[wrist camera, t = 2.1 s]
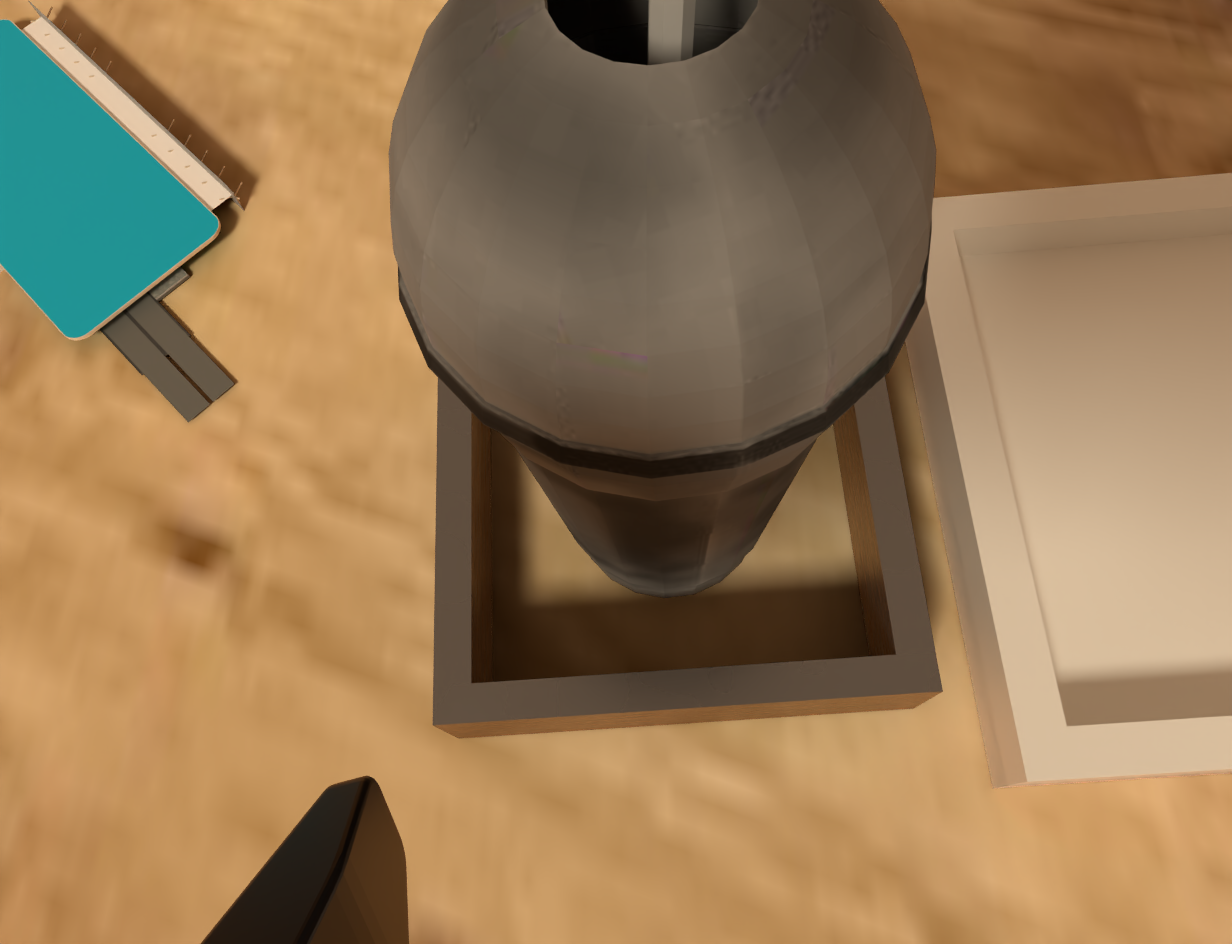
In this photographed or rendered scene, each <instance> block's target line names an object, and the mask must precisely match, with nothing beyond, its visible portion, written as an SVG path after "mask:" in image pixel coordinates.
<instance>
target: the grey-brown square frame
mask: <svg viewBox="0 0 1232 944" xmlns="http://www.w3.org/2000/svg"><path fill="white" fill-rule="evenodd" d="M833 426H834V433H835V439H836V445H837V452H838V458H839V464H840V471H841V477H842V483H843V490H844V496H845V502H846V509H847V515H848V522H849V528H850V534H851V541H852V547H853V553H854V560H855V566H856V572H857V579H858V585H859V591H860V598H861V604H862V611H863V617H864V623H865V630H866V636H867V642H868V649H869V655H870V656H868V657H853V658H839V659H824V660H809V661H795V662H780V663H765V664H750V665H736V666H721V667H706V668H692V669H677V670H662V671H647V672H633V673H618V674H603V675H589V676H574V677H559V678H544V679H530V680H515V681H500V682H493V639H492V519H491V428H490V427H488V426H486V425H484V424H483V423H482V422H481V421H480V420H479V419H478V418H477V417H476V416H475V415H474V414H473V413H472V412H471V411H470V410H469V409H468V408H467V407H466V406H465V405H464V404H463V403H462V402H461V401H460V400H459V398H458V397H457V396H456V395H455V394H454V393H453V392H452V391H451V390H450V389H449V388H448V387H447V386H446V385H445V384H444V383H443V382H442V381H441V380H440V379H439V378H438V411H437V478H436V545H435V611H434V678H433V726H435V727H437V728H439V729H441V730H443V731H445V732H447V733H449V734H451V735H453V736H455V737H457V738H472V737H487V736H502V735H517V734H533V733H548V732H563V731H578V730H593V729H608V728H624V727H639V726H654V725H669V724H684V723H699V722H714V721H730V720H745V719H760V718H775V717H790V716H805V715H821V714H836V713H851V712H866V711H881V710H896V709H911V708H915V707H917V706H919V705H920V704H922V703H924V702H925V701H927V700H929V699H931V698H932V697H934V696H936V695H937V694H939V693H941V692H943V691H942V685H941V680H940V674H939V669H938V663H937V658H936V652H935V647H934V641H933V636H932V631H931V625H930V620H929V614H928V609H927V603H926V598H925V592H924V587H923V582H922V576H921V571H920V565H919V560H918V554H917V549H916V543H915V538H914V533H913V527H912V522H911V516H910V511H909V505H908V500H907V494H906V489H905V484H904V478H903V473H902V467H901V462H900V456H899V451H898V445H897V440H896V434H895V429H894V424H893V418H892V413H891V407H890V402H889V396H888V391H887V385H886V380H885V376H884V377H883V378H882V379H881V380H880V381H879V382H878V383H877V384H876V385H874V386H873V387H872V388H871V389H870V390H869V391H868V392H867V393H866V394H865V395H864V396H862V397H861V398H860V399H859V400H858V401H857V402H856V403H855V404H854V405H853V406H852V407H851V408H849V409H848V410H847V411H846V412H845V413H844V414H843V415H842V416H841V417H840V418H839V419H837V420H836V421H835V422H834V423H833Z"/></svg>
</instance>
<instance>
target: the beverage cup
mask: <svg viewBox="0 0 1232 944" xmlns="http://www.w3.org/2000/svg"><path fill="white" fill-rule="evenodd" d="M935 167H936V146H935V141H934V136H933V131H932V126H931V121H930V116H929V113H928V110H927V106H926V103H925V100H924V96H923V93H922V90H921V86H920V83H919V80H918V77H917V73H916V70H915V67H914V63H913V60H912V57H911V54H910V51H909V49H908V47H907V45H906V43H905V40H904V38H903V36H902V34H901V32H900V30H899V28H898V26H897V24H896V22H895V21H894V20H893V18H892V17H891V16H890V15H889V13H888V12H887V11H886V9H885V8H884V7H883V6H882V4H881V3H880V2H879V0H448V2H447V3H446V4H445V5H444V7H443V8H442V10H441V11H440V12H439V14H438V15H437V16H436V18H435V19H434V21H433V22H432V23H431V25H430V26H429V27H428V29H427V30H426V33H425V35H424V38H423V41H422V43H421V46H420V49H419V51H418V54H417V56H416V59H415V62H414V65H413V67H412V70H411V73H410V76H409V78H408V81H407V84H406V87H405V90H404V92H403V95H402V98H401V101H400V103H399V106H398V109H397V112H396V114H395V117H394V120H393V126H392V133H391V141H390V148H389V175H390V211H391V229H392V239H393V249H394V255H395V258H396V261H397V264H398V283H399V300H400V302H401V305H402V307H403V309H404V312H405V314H406V316H407V319H408V321H409V323H410V326H411V328H412V330H413V333H414V335H415V337H416V340H417V342H418V344H419V347H420V349H421V351H422V354H423V356H424V358H425V361H426V363H427V365H428V367H429V368H430V369H431V370H432V371H433V372H434V374H435V375H436V376H437V377H438V378H439V379H440V380H441V381H442V382H443V383H444V384H445V385H446V386H447V387H448V388H449V389H450V390H451V391H452V392H453V393H454V394H455V395H456V396H457V397H458V398H459V400H460V401H461V402H462V403H463V404H464V405H465V406H466V407H467V408H468V409H469V410H470V411H471V412H472V413H473V414H474V415H475V416H476V417H477V418H478V419H479V420H480V421H481V422H482V423H483V424H484V425H486V426H488V427H490V428H491V429H493V430H495V431H497V432H499V433H500V434H501V435H502V436H503V437H504V438H505V439H506V440H507V441H508V442H510V443H511V444H512V445H513V446H514V447H515V448H516V450H517V451H518V453H519V454H520V456H521V457H522V459H523V460H524V462H525V463H526V465H527V466H528V468H529V469H530V471H531V472H532V474H533V476H534V477H535V479H536V480H537V482H538V483H539V485H540V486H541V488H542V489H543V491H544V492H545V494H546V495H547V497H548V498H549V500H550V501H551V503H552V505H553V506H554V508H555V509H556V511H557V512H558V514H559V515H560V517H561V518H562V520H563V521H564V523H565V524H566V526H567V527H568V529H569V531H570V532H571V534H572V535H573V537H574V538H575V540H576V541H577V543H578V544H579V545H580V546H581V547H582V548H583V550H584V551H585V552H586V553H587V554H588V555H589V556H590V557H591V559H592V560H593V561H594V562H595V563H596V564H597V565H598V566H599V567H600V568H601V569H602V570H603V571H604V572H605V574H606V575H607V576H608V577H609V578H610V579H612V580H613V581H615V582H617V583H619V584H621V585H623V586H625V587H626V588H628V589H630V590H632V591H634V592H636V593H641V594H646V595H652V596H657V597H662V598H669V597H677V596H685V595H693V594H696V593H698V592H700V591H702V590H704V589H707V588H709V587H711V586H713V585H715V584H717V583H720V582H721V581H722V580H723V579H724V578H725V577H726V576H727V575H729V574H730V573H731V572H732V571H733V570H734V569H735V568H736V567H737V566H738V565H739V564H740V563H741V562H742V560H743V558H744V557H745V555H746V554H748V553H749V552H750V551H751V550H752V549H753V547H754V546H755V544H756V542H757V541H758V539H759V537H760V535H761V534H762V532H763V530H764V529H765V527H766V525H767V523H768V522H769V520H770V518H771V517H772V515H773V513H774V511H775V510H776V508H777V506H778V504H779V503H780V501H781V499H782V498H783V496H784V494H785V492H786V491H787V489H788V487H789V486H790V484H791V482H792V480H793V479H794V477H795V475H796V474H797V472H798V470H799V468H800V467H801V465H802V463H803V462H804V460H805V458H806V456H807V455H808V453H809V451H810V450H811V448H812V446H813V444H814V443H815V441H816V439H817V438H818V437H819V436H820V435H821V434H822V433H823V432H824V431H825V430H827V429H828V428H829V427H830V426H831V425H832V424H833V423H834V422H835V421H836V420H837V419H839V418H840V417H841V416H842V415H843V414H844V413H845V412H846V411H847V410H848V409H849V408H851V407H852V406H853V405H854V404H855V403H856V402H857V401H858V400H859V399H860V398H861V397H862V396H864V395H865V394H866V393H867V392H868V391H869V390H870V389H871V388H872V387H873V386H874V385H876V384H877V383H878V382H879V381H880V380H881V379H882V378H883V377H884V376H885V375H886V374H888V373H889V371H890V369H891V367H892V365H893V363H894V361H895V359H896V357H897V355H898V353H899V351H900V350H901V348H902V346H903V344H904V342H905V340H906V338H907V336H908V334H909V332H910V330H911V328H912V326H913V324H914V322H915V321H916V319H917V317H918V315H919V313H920V311H921V309H922V307H923V305H924V303H925V293H926V283H927V273H928V263H929V253H930V243H931V233H932V206H933V196H934V186H935Z"/></svg>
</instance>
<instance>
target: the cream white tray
mask: <svg viewBox="0 0 1232 944" xmlns="http://www.w3.org/2000/svg"><path fill="white" fill-rule="evenodd" d="M905 343H906V348H907V353H908V358H909V363H910V368H911V373H912V378H913V384H914V389H915V394H916V399H917V404H918V409H919V414H920V419H921V424H922V430H923V435H924V440H925V445H926V450H927V455H928V460H929V465H930V470H931V476H932V481H933V486H934V491H935V496H936V501H937V506H938V511H939V516H940V522H941V527H942V532H943V537H944V542H945V547H946V552H947V557H948V562H949V568H950V573H951V578H952V583H953V588H954V593H955V598H956V603H957V608H958V614H959V619H960V624H961V629H962V634H963V639H964V644H965V649H966V654H967V660H968V665H969V670H970V675H971V680H972V685H973V690H974V695H975V700H976V705H977V711H978V716H979V721H980V726H981V731H982V736H983V741H984V746H985V751H986V757H987V762H988V767H989V772H990V777H991V782H992V787H993V788H1005V787H1021V786H1036V785H1052V784H1068V783H1084V782H1100V781H1116V780H1132V779H1148V778H1164V777H1179V776H1195V775H1211V774H1227V773H1232V173H1224V174H1212V175H1200V176H1189V177H1177V178H1165V179H1153V180H1141V181H1129V182H1117V183H1106V184H1094V185H1082V186H1070V187H1058V188H1046V189H1034V190H1023V191H1011V192H999V193H987V194H975V195H963V196H951V197H940V198H933V206H932V233H931V243H930V253H929V263H928V273H927V283H926V293H925V303H924V305H923V307H922V309H921V311H920V313H919V315H918V317H917V319H916V321H915V322H914V324H913V326H912V328H911V330H910V332H909V334H908V336H907V338H906V340H905Z"/></svg>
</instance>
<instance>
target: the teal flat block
mask: <svg viewBox="0 0 1232 944" xmlns="http://www.w3.org/2000/svg"><path fill="white" fill-rule="evenodd" d="M29 2H30V1H29ZM30 4H31V5H32V6H33V7H34V9H35V10H36V11H37V13H38V14H39V15H40V18H38V19H37V20H34V21H30V22H32V23H31V24H30V25H28V26H27V27H25V28H24V29H22V30H21V29H20V28H19V27H17V26H16V25H15V24H14V23H13V22H12V21H10V20H7V19H1V20H0V272H1V271H3V270H5V271H6V272H7V273H8V274H9V275H10V276H11V277H12V278H13V280H14V281H15V282H16V283H17V284H18V285H19V286H20V287H21V288H22V290H23V291H24V292H25V293H26V294H27V295H28V296H29V297H30V298H31V300H32V301H33V302H34V303H35V304H36V305H37V306H38V307H39V308H40V310H41V311H42V312H43V313H44V314H45V315H46V316H47V317H48V318H49V320H50V321H51V322H52V323H53V324H54V325H55V326H56V327H57V328H58V330H59V331H60V332H61V333H62V334H63V335H64V336H65V337H66V338H68V339H70V340H82V339H85V338H87V337H89V336H91V335H92V334H94V333H95V332H96V331H98V330H99V329H100V330H101V331H102V333H103V334H104V335H105V336H106V337H107V338H108V339H109V340H110V341H111V342H112V343H113V344H114V346H115V347H116V348H117V349H118V350H119V351H120V352H121V353H122V354H123V355H124V356H125V357H126V359H127V360H128V361H129V362H130V363H131V364H132V365H133V366H134V367H135V368H136V369H137V370H138V372H139V373H140V374H141V375H143V374H144V375H145V376H146V377H147V378H148V379H149V380H150V381H151V382H152V384H153V385H154V386H155V387H156V388H157V389H158V390H159V391H160V392H161V393H162V394H163V395H164V397H165V398H166V399H167V400H168V401H169V402H170V403H171V404H172V405H173V406H174V407H175V408H176V410H177V411H178V412H179V413H180V414H181V415H182V416H183V417H184V418H185V419H186V420H187V421H188V422H189V421H190V420H192V419H193V418H194V417H195V416H196V415H198V414H199V413H200V412H201V411H202V410H204V409H205V408H206V407H207V406H208V405H210V404H209V403H208V402H207V400H206V399H205V398H204V397H203V396H202V395H201V394H200V393H199V392H198V391H197V390H196V389H195V388H194V387H193V386H192V385H191V384H190V382H189V381H188V380H187V379H186V378H185V377H184V376H183V375H182V374H181V373H180V372H179V371H178V370H177V369H176V368H175V367H174V366H173V364H172V363H171V362H170V361H169V360H168V359H167V358H166V356H167V355H169V356H170V357H171V358H172V359H173V360H174V361H175V362H176V363H177V364H178V365H179V366H180V367H181V368H182V369H183V370H184V371H185V372H186V374H187V375H188V376H189V377H190V378H191V379H192V380H193V381H194V382H195V383H196V384H197V385H198V386H199V387H200V388H201V389H202V390H203V392H204V393H205V394H206V395H207V396H208V397H209V398H210V399H211V400H212V401H214V400H216V399H217V398H218V397H219V396H221V395H222V394H223V393H224V392H225V391H227V390H228V389H229V388H230V387H231V386H233V385H234V383H233V382H232V381H231V380H230V379H229V378H228V377H227V376H226V375H225V373H224V372H223V371H222V370H221V369H220V368H219V367H218V366H217V365H216V364H215V363H214V362H213V361H212V360H211V359H210V358H209V357H208V356H207V355H206V354H205V353H204V352H203V351H202V350H201V349H200V348H199V347H198V346H197V345H196V343H195V342H194V341H193V340H192V339H191V338H190V337H191V335H190V334H189V333H188V332H187V331H186V330H185V329H184V328H183V327H182V326H181V325H180V324H179V323H178V322H177V321H176V320H175V319H174V318H173V317H172V316H171V315H170V314H169V313H168V312H167V311H166V309H165V308H164V307H163V306H162V305H161V304H160V303H159V301H160V300H162V299H163V298H164V297H165V296H167V295H168V294H169V293H170V292H172V291H173V290H174V289H176V288H177V287H178V286H179V285H181V284H182V283H183V282H184V281H186V280H187V279H188V278H190V276H189V275H188V274H187V273H186V272H185V271H184V270H183V269H182V268H181V267H180V266H181V265H182V264H183V263H185V262H186V261H187V260H189V259H190V258H191V257H192V256H194V255H195V254H196V253H198V252H199V251H200V250H201V249H203V248H204V247H205V246H207V245H208V244H209V243H210V242H212V241H213V240H214V239H215V238H216V237H217V236H218V234H220V229H221V223H220V221H219V219H218V218H217V216H216V215H215V214H213V213H212V212H211V211H212V210H213V209H214V208H216V207H217V206H218V205H220V204H221V203H222V202H223V201H225V200H226V199H228V198H231V199H232V200H233V201H234V202H235V203H236V204H237V205H239V206H240V207H241V203H240V201H239V200H240V198H238V197H237V196H236V194H237V192H238V190H239V189H240V187H241V185H242V183H243V182H241V183H240V185H239V187H238V189H237V190H236V192H235V194H234V192H233V191H232V190H230V189H229V187H228V186H227V185H226V184H225V183H224V182H223V181H222V180H221V179H219V177H220V175H221V174H222V172H223V170H224V168H225V166H223V168H222V170H221V172H220V174H219V175H218V177H217V176H216V175H215V174H214V173H213V172H212V171H211V170H210V169H209V168H208V167H207V166H206V165H204V164H203V163H202V161H203V160H204V158H205V156H206V154H207V152H208V150H206V152H205V154H204V156H203V158H202V160H201V161H200V160H199V159H198V158H197V157H196V156H195V155H194V154H193V153H192V152H190V151H189V150H188V149H187V148H186V147H185V146H186V144H187V143H188V141H189V139H190V137H191V135H189V137H188V139H187V141H186V143H185V145H183V144H182V143H181V142H180V141H179V140H178V139H177V138H175V137H174V136H173V135H172V134H171V133H170V132H169V130H170V128H171V126H172V125H173V123H174V121H175V120H174V119H173V121H172V123H171V125H170V127H169V128H168V130H167V129H166V128H165V127H164V126H163V125H162V124H160V123H159V122H158V121H157V120H156V119H155V118H154V117H153V116H152V115H151V114H150V113H149V112H148V111H146V110H145V109H144V108H143V107H142V106H141V105H140V104H139V103H138V102H137V101H136V100H135V99H134V98H133V97H131V96H130V95H129V94H128V93H127V92H126V91H125V90H124V89H123V88H122V87H121V86H120V85H119V84H118V83H116V82H115V81H114V80H113V79H112V78H111V77H110V76H109V75H108V74H107V73H106V72H107V70H108V68H109V66H110V64H111V61H110V62H109V64H108V66H107V68H106V70H105V71H104V70H102V69H101V68H100V67H99V66H98V65H97V64H96V63H95V62H94V61H93V60H92V59H91V58H92V56H93V54H94V52H95V50H96V47H95V48H94V50H93V52H92V54H91V56H90V57H89V56H87V55H86V54H85V53H84V52H83V51H82V50H81V49H80V48H79V47H78V46H77V43H78V41H79V39H80V37H81V35H82V34H81V33H80V35H79V37H78V39H77V41H76V43H74V42H72V41H71V40H70V39H69V38H68V37H67V36H66V35H65V34H64V33H63V32H62V31H63V29H64V26H65V24H66V22H67V20H65V22H64V24H63V27H62V29H61V30H60V29H59V28H57V27H56V26H55V25H54V24H53V23H52V22H51V21H50V20H49V19H48V17H49V15H50V13H51V10H52V8H53V7H51V8H50V11H49V13H48V15H47V17H46V16H45V15H43V14H42V13H41V12H40V11H39V10H38V9H37V8H36V7H35V6H34V5H33V4H32V3H31V2H30ZM238 199H239V200H238ZM241 208H242V207H241ZM242 209H243V208H242ZM243 210H244V209H243Z"/></svg>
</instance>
